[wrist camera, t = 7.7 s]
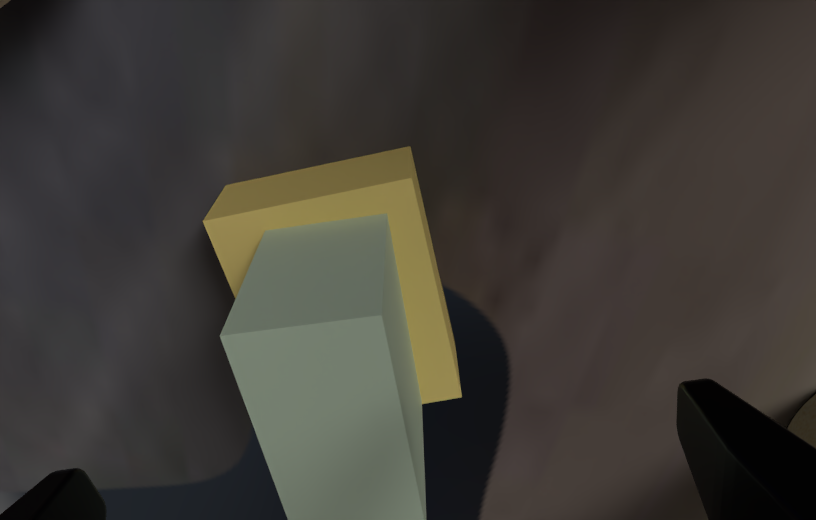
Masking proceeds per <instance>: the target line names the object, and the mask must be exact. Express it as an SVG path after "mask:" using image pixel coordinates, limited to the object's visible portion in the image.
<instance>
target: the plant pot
mask: <svg viewBox="0 0 816 520" xmlns="http://www.w3.org/2000/svg"><path fill="white" fill-rule="evenodd" d="M787 429H788V430H789V431H791V432H792V433H794V434H795V435H797V436H798V437H800V438H801V439H803V440H804V441H806V442H807V443H809V444H810V445H812V446H813V447H815V448H816V394H815V395H814V396H813V397H812V398H811V399H809V400H808V401H807V402H806V403H805V404H804V405H803V406H802V408H801V409H800V410H799V411H798V412H797V414H796V415H795V416H794V418H793V419H792V421H791V422H790V424H789V426H788V428H787Z"/></svg>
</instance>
